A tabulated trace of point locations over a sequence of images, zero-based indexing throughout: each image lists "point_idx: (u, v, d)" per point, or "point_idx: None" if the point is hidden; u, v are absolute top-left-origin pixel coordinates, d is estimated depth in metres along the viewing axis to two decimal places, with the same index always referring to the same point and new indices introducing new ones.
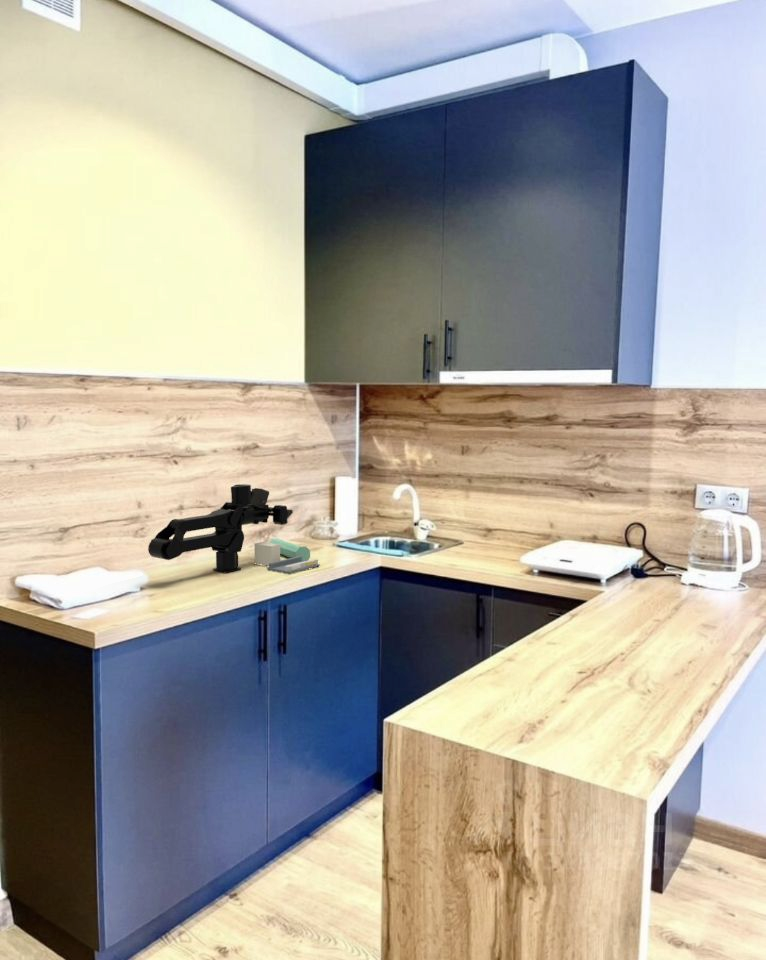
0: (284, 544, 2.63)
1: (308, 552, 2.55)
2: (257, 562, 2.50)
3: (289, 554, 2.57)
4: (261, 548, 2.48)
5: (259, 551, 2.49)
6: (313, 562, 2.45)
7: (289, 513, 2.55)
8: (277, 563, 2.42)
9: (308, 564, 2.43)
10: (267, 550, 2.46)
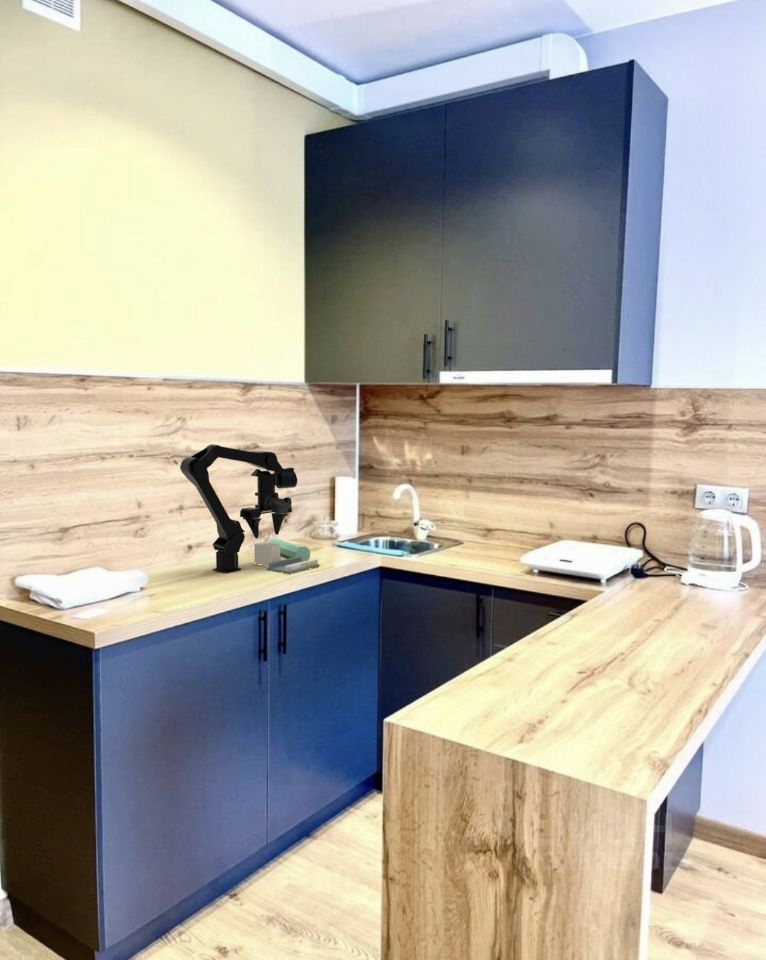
0: (284, 544, 2.63)
1: (308, 552, 2.55)
2: (257, 562, 2.50)
3: (289, 554, 2.57)
4: (261, 548, 2.48)
5: (259, 551, 2.49)
6: (313, 562, 2.45)
7: (253, 531, 2.45)
8: (277, 563, 2.42)
9: (308, 564, 2.43)
10: (267, 550, 2.46)
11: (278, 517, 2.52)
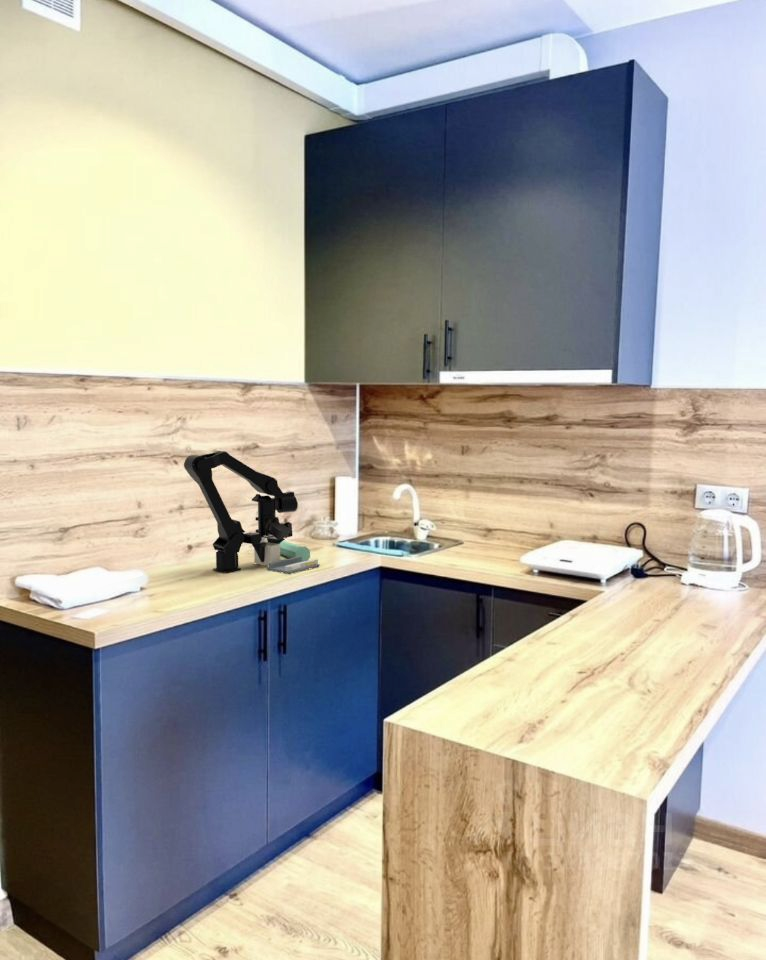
0: (284, 544, 2.63)
1: (308, 552, 2.55)
2: (257, 562, 2.50)
3: (289, 554, 2.57)
4: None
5: None
6: (313, 562, 2.45)
7: (259, 555, 2.47)
8: (277, 563, 2.42)
9: (308, 564, 2.43)
10: (267, 550, 2.46)
11: (274, 542, 2.51)
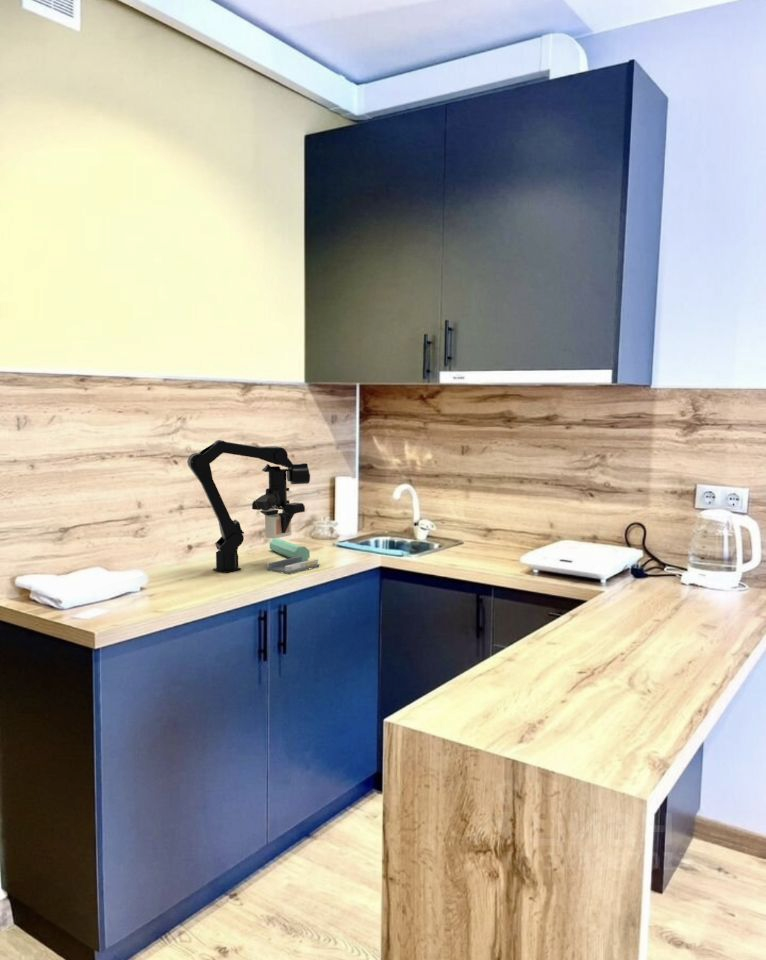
0: (284, 544, 2.63)
1: (307, 552, 2.55)
2: None
3: (289, 554, 2.57)
4: None
5: None
6: (313, 562, 2.45)
7: None
8: (277, 563, 2.42)
9: (308, 564, 2.43)
10: None
11: None
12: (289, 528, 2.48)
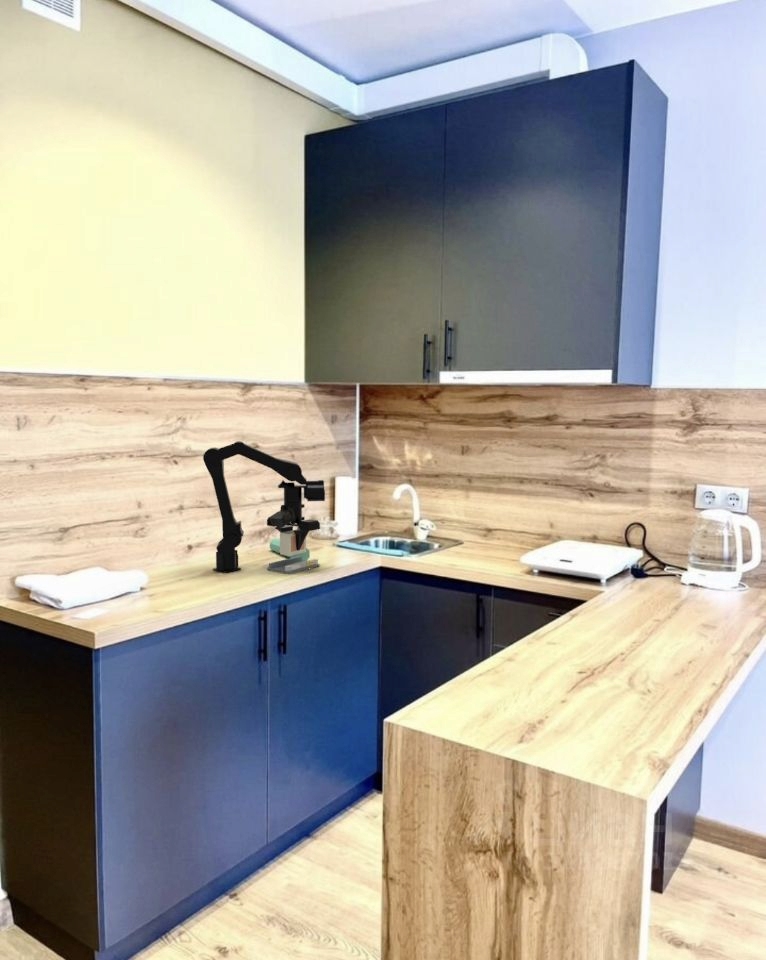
0: None
1: (307, 552, 2.55)
2: None
3: None
4: None
5: None
6: (313, 562, 2.45)
7: None
8: (277, 563, 2.42)
9: (308, 564, 2.43)
10: None
11: None
12: (304, 545, 2.45)
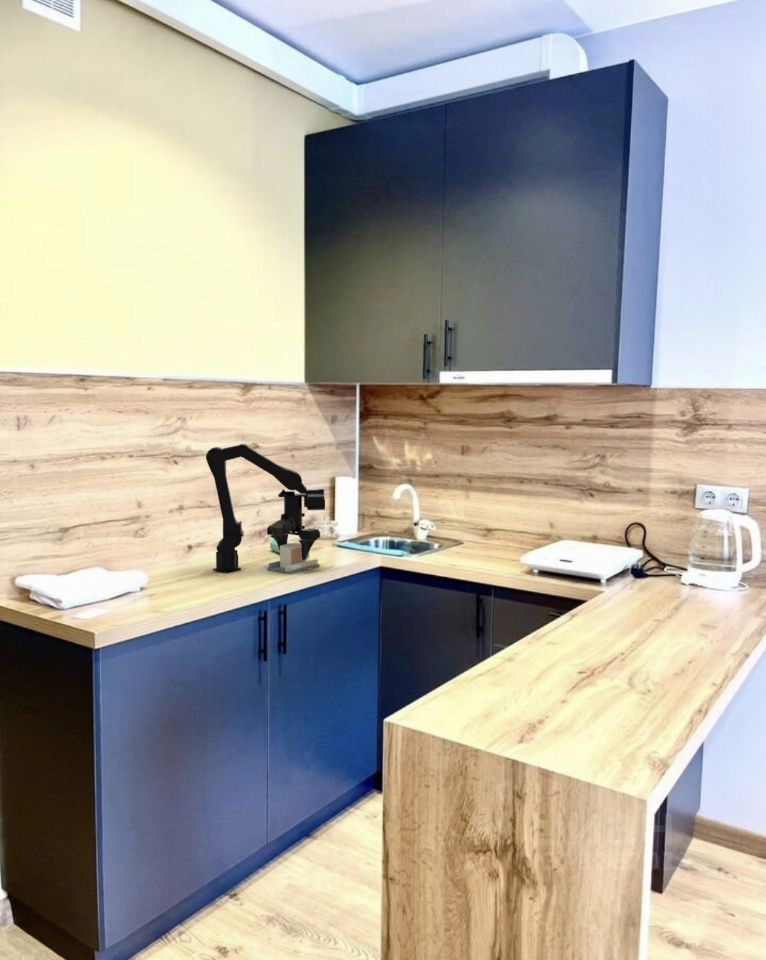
0: None
1: None
2: None
3: None
4: None
5: None
6: (313, 562, 2.45)
7: None
8: (277, 563, 2.42)
9: (308, 564, 2.43)
10: None
11: None
12: None
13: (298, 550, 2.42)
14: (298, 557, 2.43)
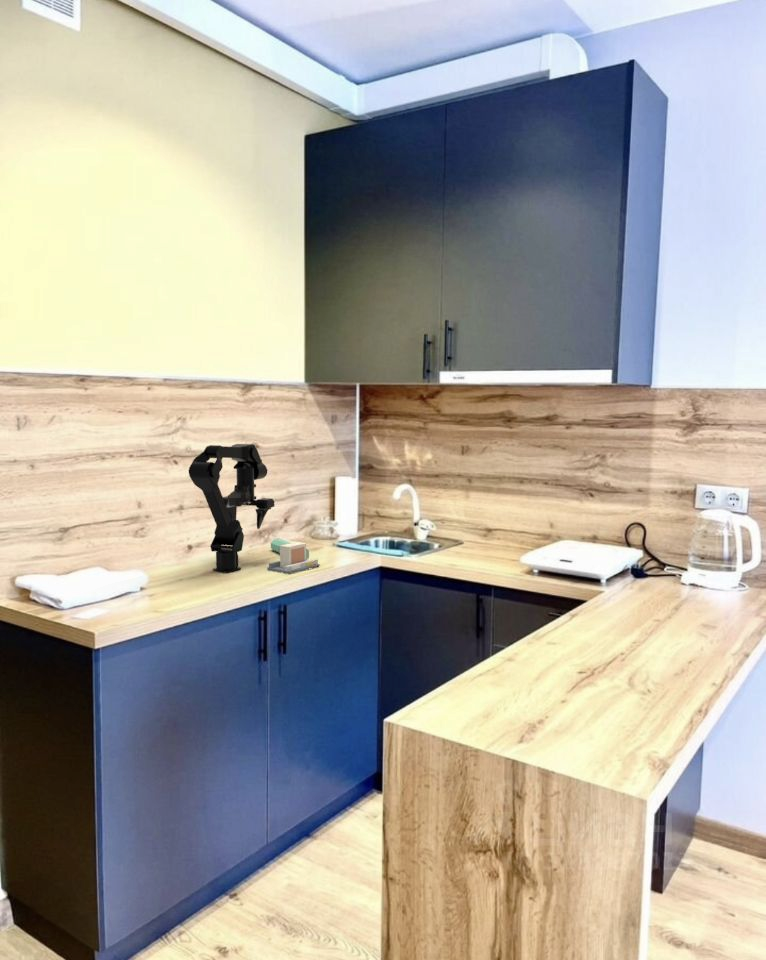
0: (284, 544, 2.63)
1: (307, 552, 2.54)
2: None
3: None
4: None
5: None
6: (313, 562, 2.45)
7: None
8: (277, 563, 2.42)
9: (308, 564, 2.43)
10: None
11: None
12: (304, 557, 2.45)
13: (298, 550, 2.42)
14: (298, 557, 2.43)
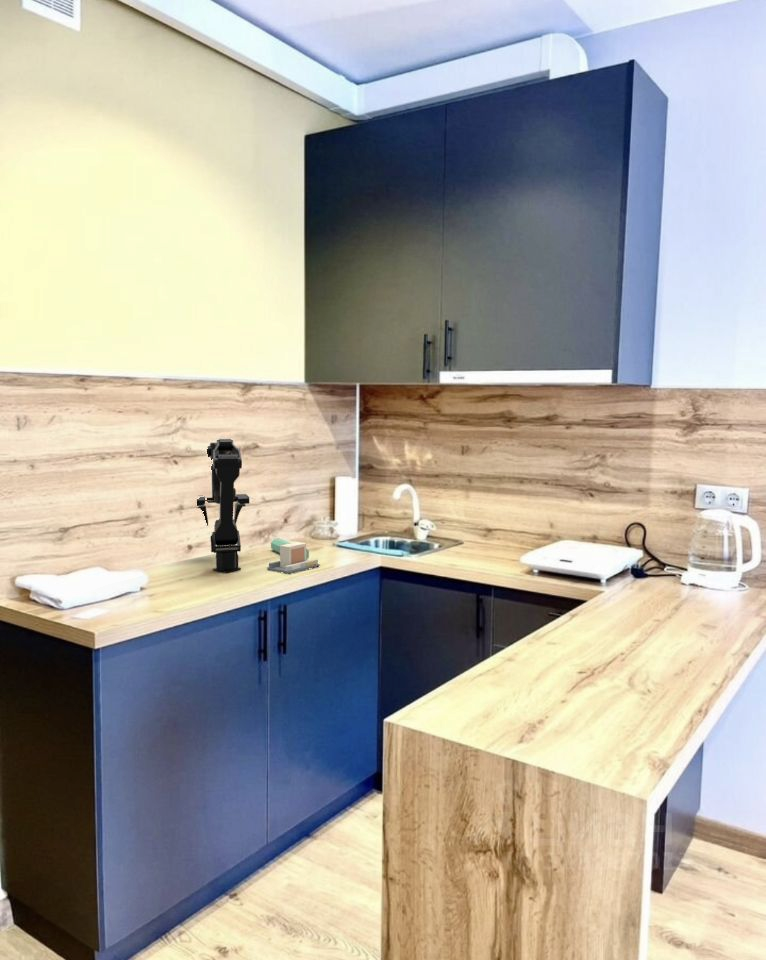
0: None
1: (307, 552, 2.54)
2: None
3: None
4: None
5: None
6: (313, 562, 2.45)
7: None
8: (277, 563, 2.42)
9: (308, 564, 2.43)
10: None
11: (235, 507, 2.57)
12: (304, 557, 2.45)
13: (298, 550, 2.42)
14: (298, 557, 2.43)
